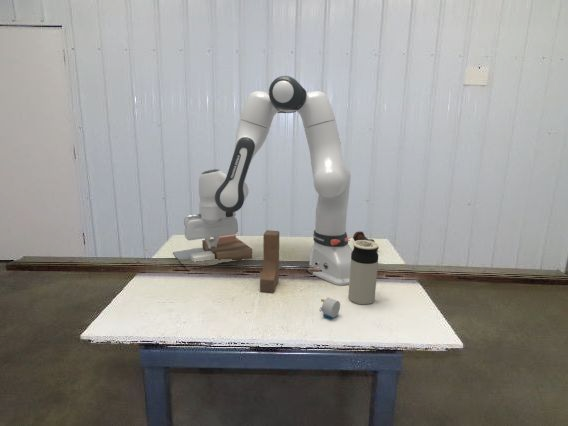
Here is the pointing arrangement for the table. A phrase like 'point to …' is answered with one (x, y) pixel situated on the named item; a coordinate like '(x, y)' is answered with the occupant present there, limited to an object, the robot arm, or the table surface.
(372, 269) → the travel mug
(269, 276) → the wooden block
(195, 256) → the cream tile
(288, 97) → the robot arm
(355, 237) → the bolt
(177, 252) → the mat
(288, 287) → the table surface
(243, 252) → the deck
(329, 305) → the electric motor
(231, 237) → the clay tile
